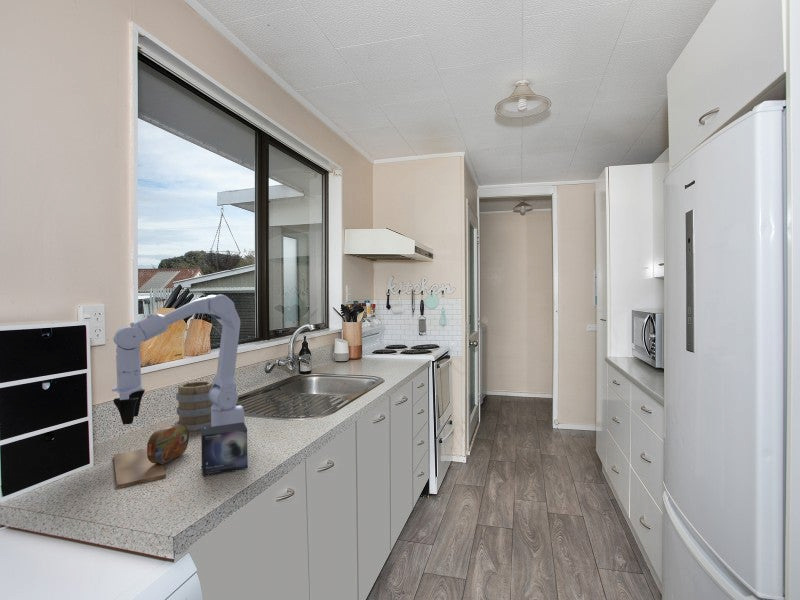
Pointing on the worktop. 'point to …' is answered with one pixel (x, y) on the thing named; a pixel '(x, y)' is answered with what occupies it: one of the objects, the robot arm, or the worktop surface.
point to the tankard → (194, 405)
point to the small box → (224, 448)
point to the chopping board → (136, 468)
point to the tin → (167, 443)
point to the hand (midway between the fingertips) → (130, 420)
